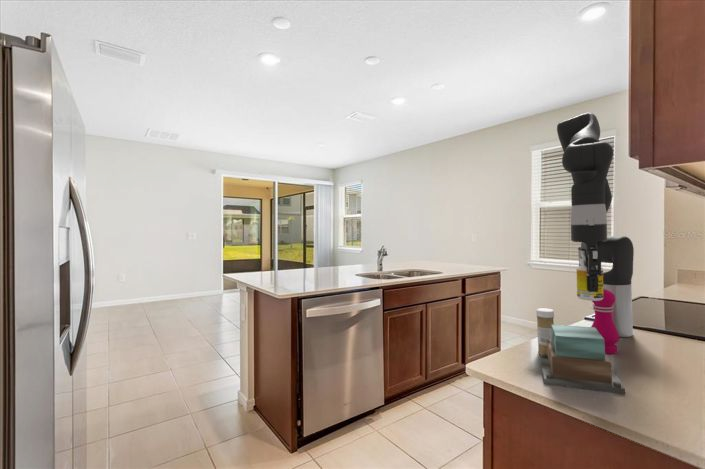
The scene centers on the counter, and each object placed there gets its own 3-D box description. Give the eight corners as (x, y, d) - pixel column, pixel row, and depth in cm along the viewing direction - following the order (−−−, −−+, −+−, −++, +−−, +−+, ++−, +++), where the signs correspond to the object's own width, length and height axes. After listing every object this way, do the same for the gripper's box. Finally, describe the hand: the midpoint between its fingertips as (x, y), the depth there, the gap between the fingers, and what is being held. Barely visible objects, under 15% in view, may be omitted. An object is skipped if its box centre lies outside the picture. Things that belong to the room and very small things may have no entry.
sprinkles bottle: (558, 354, 101) (556, 309, 101) (550, 358, 99) (548, 312, 99) (542, 350, 105) (541, 306, 105) (534, 354, 103) (533, 309, 102)
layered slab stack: (539, 359, 99) (538, 320, 99) (607, 366, 92) (606, 325, 92) (544, 383, 84) (543, 338, 84) (625, 394, 78) (623, 345, 77)
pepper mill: (605, 356, 99) (603, 287, 98) (583, 347, 106) (581, 283, 105) (626, 353, 100) (624, 285, 100) (603, 344, 107) (601, 281, 107)
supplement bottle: (599, 302, 83) (598, 260, 83) (573, 299, 88) (572, 259, 88) (607, 298, 87) (606, 258, 87) (582, 295, 91) (581, 257, 91)
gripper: (566, 223, 95) (567, 284, 95) (576, 223, 82) (577, 294, 82) (599, 222, 92) (600, 285, 92) (614, 222, 79) (616, 295, 79)
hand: (589, 289), depth 87 cm, fingers closed on supplement bottle, 5 cm apart
